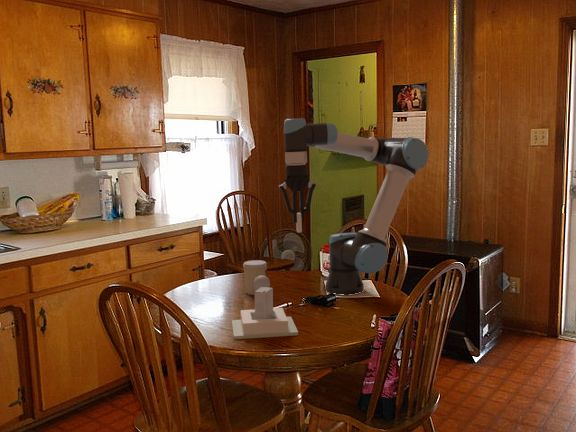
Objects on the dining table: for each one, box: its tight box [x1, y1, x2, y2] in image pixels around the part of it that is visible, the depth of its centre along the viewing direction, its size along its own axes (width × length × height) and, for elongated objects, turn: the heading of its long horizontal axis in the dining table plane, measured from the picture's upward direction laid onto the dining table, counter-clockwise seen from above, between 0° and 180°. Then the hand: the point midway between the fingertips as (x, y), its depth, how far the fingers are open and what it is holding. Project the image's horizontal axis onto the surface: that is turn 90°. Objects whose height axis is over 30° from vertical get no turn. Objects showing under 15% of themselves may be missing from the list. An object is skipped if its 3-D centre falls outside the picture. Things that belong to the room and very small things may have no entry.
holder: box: [231, 307, 299, 340], centre depth 189 cm, size 20×16×4 cm
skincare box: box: [254, 287, 274, 320], centre depth 188 cm, size 6×4×12 cm
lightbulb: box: [254, 275, 271, 291], centre depth 215 cm, size 6×6×11 cm
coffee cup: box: [242, 259, 268, 296], centre depth 233 cm, size 9×9×12 cm
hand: (299, 231), depth 205 cm, fingers closed
